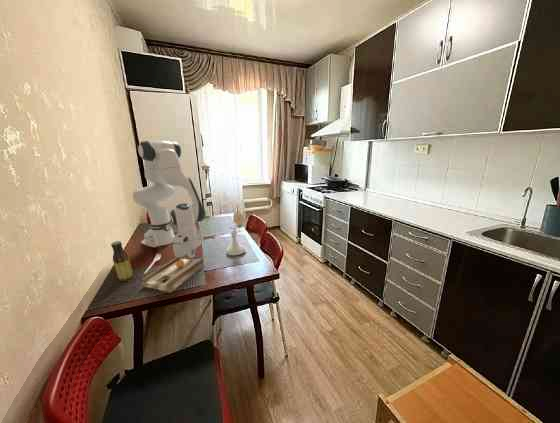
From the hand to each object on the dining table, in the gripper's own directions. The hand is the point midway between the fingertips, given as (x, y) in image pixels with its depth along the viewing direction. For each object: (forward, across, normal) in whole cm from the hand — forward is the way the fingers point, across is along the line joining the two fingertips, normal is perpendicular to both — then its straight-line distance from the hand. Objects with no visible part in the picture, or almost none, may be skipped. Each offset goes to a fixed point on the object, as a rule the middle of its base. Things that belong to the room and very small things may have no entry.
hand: (192, 257), depth 128 cm
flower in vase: (+4, -18, +18) cm, 26 cm away
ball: (-1, +9, 0) cm, 9 cm away
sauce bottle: (+4, +22, -23) cm, 32 cm away
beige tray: (+4, +13, 0) cm, 14 cm away
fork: (+4, +7, -22) cm, 23 cm away
